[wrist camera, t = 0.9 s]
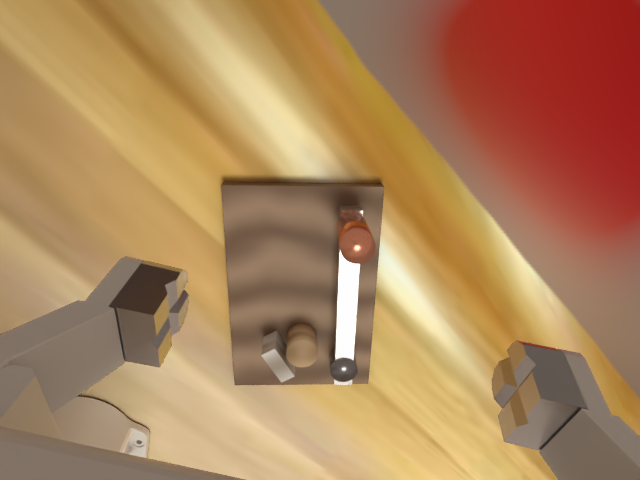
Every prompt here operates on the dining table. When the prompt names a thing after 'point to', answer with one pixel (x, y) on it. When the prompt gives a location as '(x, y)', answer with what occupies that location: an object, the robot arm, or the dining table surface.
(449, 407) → the dining table surface
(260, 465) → the dining table surface
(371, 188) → the nutcracker base
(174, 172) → the dining table surface
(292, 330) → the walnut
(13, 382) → the robot arm
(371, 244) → the lever
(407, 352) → the dining table surface
